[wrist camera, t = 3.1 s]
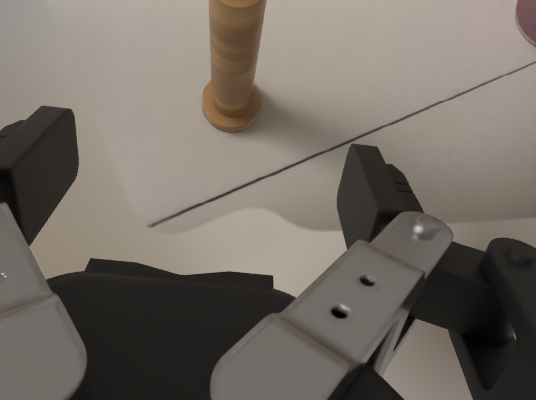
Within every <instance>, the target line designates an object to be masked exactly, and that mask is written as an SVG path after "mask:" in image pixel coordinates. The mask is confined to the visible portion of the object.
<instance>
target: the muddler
mask: <svg viewBox="0 0 536 400" xmlns="http://www.w3.org/2000/svg"><path fill="white" fill-rule="evenodd" d="M265 7H266V0H209V22H210V49H211V76H212V80H211V81H210V82H209V83H208V84H207V85H206V87H205V89H204V91H203V95H202V106H203V112H204V115H205V117H206V119H207V120H208V121H209V122H210V123H211V124H212V125H213V126H214V127H216V128H217V129H219V130H222V131H225V132H238V131H242V130H244V129H246V128H248V127H249V126H251V125H252V124H253V123H254V122H255V120H256V118H257V116H258V114H259V110H260V104H261V98H260V93H259V91H258V89H257V87H256V86H255V84H254V77H255V70H256V64H257V58H258V51H259V45H260V39H261V32H262V26H263V19H264V13H265Z"/></svg>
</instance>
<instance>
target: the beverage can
mask: <svg viewBox="0 0 536 400" xmlns="http://www.w3.org/2000/svg"><path fill="white" fill-rule="evenodd" d="M516 22H517V25H518V27H519V30H520V31H521V33H522V34H523V36H524V37H525V38H526V39H527V40H528V41H529V42H531V43H532V44H533V45H535V46H536V0H518V1H517V6H516Z"/></svg>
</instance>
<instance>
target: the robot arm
mask: <svg viewBox="0 0 536 400" xmlns="http://www.w3.org/2000/svg"><path fill="white" fill-rule="evenodd" d="M78 166H79V157H78V147H77V137H76V126H75V117H74V114H73V112H72V110H71V109H67V108H59V107H50V106H41V107H40V108H39V109H38V110H36V111H35V112H34V113H33V114H32V115H31V116H30V117H29V118H28V119H26V120H20V121H18V122H15V123H13V124H11V125H8V126H6V127H4V128H3V129H2V130H0V400H404V399H403V398H402V397H401V396H400V395H399V394H398V393H397V392H396V391H395V390H394V389H393V388H392V387H391V386H390V385H389V384H388V383H387V382H386V381H385V380H384V379H383V378H382V376H383V374H384V372H385V370H386V368H387V367H388V365H389V363H390V362H391V360H392V359H393V357H394V356H395V354H396V353H397V351H398V349H399V348H400V346H401V345H402V343H403V342H404V340H405V339H406V337H407V335H408V334H409V332H410V331H411V329H412V327H413V326H414V324H415V323H416V321H417V319H419V320H422V321H425V322H428V323H431V324H434V325H437V326H440V327H443V328H445V329H448V332H449V335H450V338H451V340H452V343H453V346H454V349H455V352H456V354H457V357H458V359H459V363H460V365H461V368H462V370H463V373H464V376H465V379H466V382H467V385H468V387H469V390H470V393H471V395H472V398H473V400H536V248H534V247H532V246H530V245H528V244H526V243H524V242H521V241H518V240H514V239H510V238H496V239H494V240H492V241H491V242H490V243H489V245H488V247H487V249H486V251H485V252H484V251H481V250H477V249H474V248H471V247H467V246H464V245H461V244H458V243H456V242H453V241H452V240H453V233H452V231H451V229H450V228H449V227H448V226H447V225H446V224H445V223H444V222H442V221H441V220H439V219H437V218H435V217H433V216H431V215H428V214H425V213H424V212H423V210H422V208H421V206H420V204H419V202H418V200H417V198H416V196H415V194H413V191H412V189H411V187H410V186H409V183H408V181H407V179H406V177H405V176H404V174H403V173H402V172H401V171H400V170H398V169H397V168H396V167H395V166H394V165H392V164H385V162H384V159H383V157H382V155H381V153H380V151H379V149H378V147H377V146H368V145H360V144H351V146H350V148H349V150H348V154H347V158H346V161H345V165H344V169H343V173H342V177H341V181H340V185H339V189H338V194H337V210H338V214H339V218H340V222H341V226H342V230H343V234H344V238H345V242H346V246H347V251H346V252H345V253H344V254H342V255H341V256H340V257H339V258H338V259H337V260H336V261H335V262H334V263H333V264H332V265H331V266H330V267H329V268H328V269H327V270H326V271H325V272H324V273H322V274H321V275H320V276H319V277H318V278H317V279H316V280H315V281H314V282H313V283H312V284H311V285H310V286H309V287H308V288H307V289H306V290H304V291H303V292H302V293H301V294H300V295H299V296H298V297H297V298H296V297H294V296H292V295H290V294H287V293H285V292H282V291H280V290H276V289H273V276H271V275H261V274H250V273H240V272H230V271H229V272H217V273H205V274H195V275H194V274H193V275H178V274H175V273H171V272H168V271H164V270H161V269H157V268H154V267H150V266H147V265H143V264H140V263H135V262H125V261H114V260H103V259H93V258H90V261H89V263H88V265H87V267H86V269H85V271H81V272H74V273H68V274H64V275H60V276H56V277H53V278H50V279H47V280H45V278H44V276H43V274H42V272H41V270H40V268H39V266H38V264H37V262H36V260H35V258H34V256H33V254H32V252H31V250H30V248H29V246H30V245H31V243H32V242H33V240H34V239H35V237H36V236H37V235H38V233H39V232H40V230H41V229H42V227H43V226H44V224H45V223H46V221H47V220H48V218H49V217H50V216H51V214H52V213H53V211H54V210H55V208H56V207H57V205H58V204H59V202H60V201H61V199H62V198H63V197H64V195H65V193H66V192H67V190H68V189H69V188H70V186H71V185H72V183H73V182H74V180H75V179H76V176H77V173H78ZM514 332H515V335H516V340H515V339H514V337H513V334H514Z"/></svg>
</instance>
